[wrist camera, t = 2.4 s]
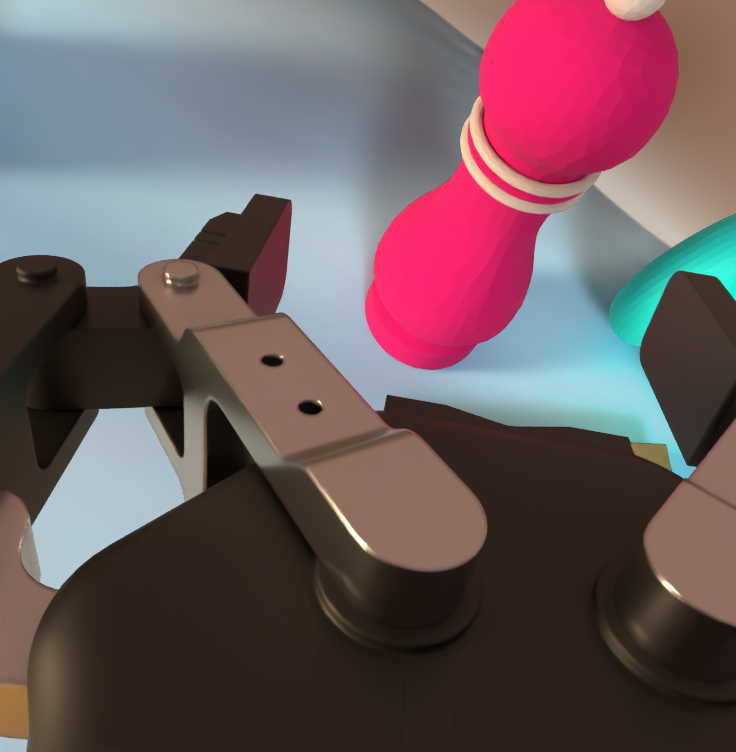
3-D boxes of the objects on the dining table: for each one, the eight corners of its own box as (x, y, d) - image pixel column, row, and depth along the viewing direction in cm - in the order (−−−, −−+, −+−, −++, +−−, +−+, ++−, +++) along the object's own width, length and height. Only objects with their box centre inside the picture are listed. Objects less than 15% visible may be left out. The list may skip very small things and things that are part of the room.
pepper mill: (398, 235, 37) (588, -173, 19) (507, 306, 37) (805, -37, 19) (329, 327, 33) (480, -61, 16) (448, 406, 33) (741, 105, 15)
